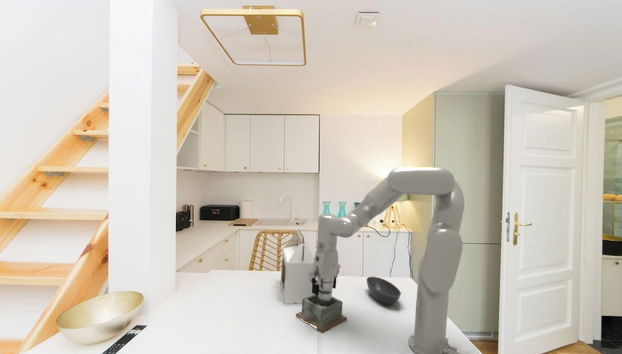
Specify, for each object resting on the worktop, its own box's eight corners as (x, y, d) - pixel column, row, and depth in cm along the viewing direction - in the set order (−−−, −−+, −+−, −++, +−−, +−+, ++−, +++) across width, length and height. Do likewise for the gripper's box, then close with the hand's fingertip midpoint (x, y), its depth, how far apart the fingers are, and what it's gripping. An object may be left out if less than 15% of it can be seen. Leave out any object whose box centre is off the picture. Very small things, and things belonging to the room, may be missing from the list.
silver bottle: (330, 321, 99) (334, 268, 99) (313, 317, 101) (316, 265, 101) (333, 312, 106) (336, 262, 106) (316, 309, 107) (320, 260, 107)
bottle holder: (346, 320, 103) (348, 302, 103) (322, 333, 93) (323, 313, 93) (320, 305, 113) (321, 289, 113) (295, 316, 103) (297, 298, 103)
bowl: (381, 312, 111) (382, 297, 111) (359, 289, 133) (360, 277, 133) (407, 310, 114) (408, 296, 114) (381, 288, 136) (382, 276, 135)
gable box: (280, 282, 134) (284, 227, 134) (306, 282, 136) (310, 228, 136) (284, 304, 112) (288, 238, 112) (314, 303, 114) (319, 239, 114)
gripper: (318, 252, 94) (315, 300, 94) (348, 245, 106) (345, 288, 106) (303, 247, 99) (301, 293, 99) (333, 241, 111) (331, 282, 112)
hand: (324, 290), depth 103 cm, fingers open, 9 cm apart
